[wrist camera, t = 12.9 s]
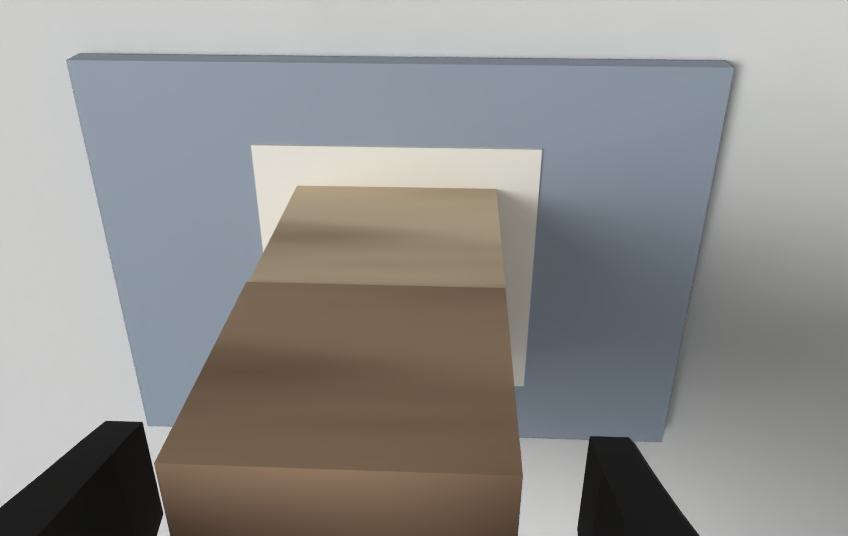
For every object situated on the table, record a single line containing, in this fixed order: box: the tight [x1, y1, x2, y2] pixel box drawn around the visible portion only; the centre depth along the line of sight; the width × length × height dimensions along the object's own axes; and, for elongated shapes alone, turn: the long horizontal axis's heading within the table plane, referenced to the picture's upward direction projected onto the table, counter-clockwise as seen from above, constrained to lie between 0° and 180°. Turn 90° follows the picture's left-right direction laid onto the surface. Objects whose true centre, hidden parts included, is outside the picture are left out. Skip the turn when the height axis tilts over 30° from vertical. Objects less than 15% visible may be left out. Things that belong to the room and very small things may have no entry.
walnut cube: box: [154, 282, 523, 536], centre depth 12 cm, size 4×4×4 cm
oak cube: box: [249, 186, 506, 290], centre depth 16 cm, size 4×4×4 cm
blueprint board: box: [66, 54, 734, 442], centre depth 19 cm, size 10×14×1 cm
